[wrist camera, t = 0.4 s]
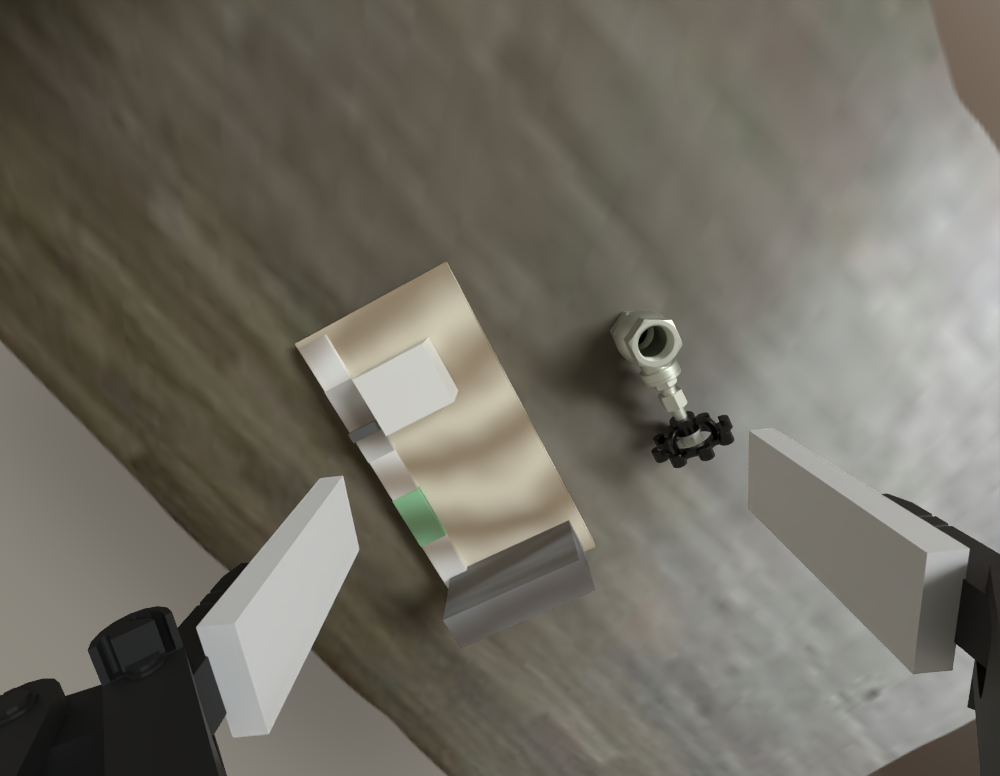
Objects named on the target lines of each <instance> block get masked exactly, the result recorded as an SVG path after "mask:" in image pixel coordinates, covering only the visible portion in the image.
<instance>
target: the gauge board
mask: <svg viewBox="0 0 1000 776" xmlns="http://www.w3.org/2000/svg"><path fill="white" fill-rule="evenodd" d="M428 337H429V338H430V340H431V342H432V344H433V346H434V347H435V349H436V351H437V353H438V355H439V356H440V358H441V360H442V362H443V364H444V365H445V367H446V369H447V371H448V373H449V374H450V376H451V378H452V380H453V382H454V383H455V385H456V387H457V389H458V393H457V396H456V398H455V401H454V402H453V403H451V404H449V405H447V406H445V407H443V408H441V409H439V410H437V411H435V412H433V413H431V414H429V415H427V416H425V417H423V418H421V419H419V420H417V421H415V422H413V423H411V424H409V425H407V426H405V427H403V428H401V429H399V430H397V431H395V432H393V433H391V434H389V435H387V436H386V435H385V433H384V432H383V430H382V429H381V430H379V431H377V432H375V433H373V434H371V435H369V436H367V437H365V438H363V439H361V440H359V441H357V442H356V444H357V445H358V447H359V449H360V450H361V452H362V453H363V455H364V457H365V458H366V460H367V461H368V463H370V465H371V467H372V468H373V470H374V471H375V473H376V475H377V476H378V478H379V479H380V481H381V483H382V484H383V486H384V487H385V489H386V491H387V492H388V494H389V495H390V497H391V499H392V500H393V501H392V502H393V503H394V505H395V507H396V508H397V510H398V511H399V513H400V515H401V516H402V518H403V519H404V521H405V523H406V524H407V526H408V527H409V529H410V530H411V532H412V534H413V535H414V537H415V538H416V540H417V542H418V543H419V545H420V546H421V547H422V548H423V550H424V551H425V553H426V555H427V556H428V558H429V559H430V561H431V563H432V564H433V566H434V567H435V569H436V571H437V572H438V574H439V575H440V577H441V579H442V580H443V582H444V583H445V585H446V587H447V588H448V593H447V599H446V605H445V611H444V616H443V621H444V623H445V625H446V626H447V628H448V629H449V631H450V632H451V634H452V635H453V637H454V639H455V640H456V642H457V643H458V645H459V646H460V648H463V647H465V646H467V645H470V644H472V643H474V642H477V641H479V640H481V639H484V638H486V637H488V636H490V635H493V634H495V633H497V632H500V631H502V630H504V629H507V628H509V627H511V626H513V625H516V624H518V623H520V622H523V621H525V620H527V619H530V618H532V617H534V616H537V615H539V614H541V613H543V612H546V611H548V610H550V609H553V608H555V607H557V606H560V605H562V604H564V603H566V602H569V601H571V600H573V599H576V598H578V597H580V596H583V595H585V594H587V593H590V592H592V591H594V590H595V587H594V583H593V580H592V576H591V573H590V569H589V565H588V562H587V558H586V555H585V551H587V550H589V549H592V548H594V547H596V546H595V543H594V540H593V538H592V536H591V534H590V532H589V530H588V529H587V527H586V525H585V523H584V521H583V519H582V517H581V515H580V513H579V511H578V510H577V508H576V506H575V504H574V502H573V500H572V498H571V496H570V494H569V493H568V491H567V489H566V487H565V485H564V483H563V481H562V479H561V477H560V475H559V474H558V472H557V470H556V468H555V466H554V464H553V462H552V460H551V458H550V457H549V455H548V453H547V451H546V449H545V447H544V445H543V443H542V441H541V440H540V438H539V436H538V434H537V432H536V430H535V428H534V426H533V424H532V422H531V421H530V419H529V417H528V415H527V413H526V411H525V409H524V407H523V405H522V404H521V402H520V400H519V398H518V396H517V394H516V392H515V390H514V388H513V386H512V385H511V383H510V381H509V379H508V377H507V375H506V373H505V371H504V369H503V368H502V366H501V364H500V362H499V360H498V358H497V356H496V354H495V352H494V350H493V349H492V347H491V345H490V343H489V341H488V339H487V337H486V335H485V333H484V332H483V330H482V328H481V326H480V324H479V322H478V320H477V318H476V316H475V314H474V313H473V311H472V309H471V307H470V305H469V303H468V301H467V299H466V297H465V296H464V294H463V292H462V290H461V288H460V286H459V284H458V282H457V280H456V278H455V277H454V275H453V273H452V271H451V269H450V267H449V265H448V263H447V262H445V263H443V264H441V265H439V266H437V267H435V268H434V269H432V270H430V271H428V272H426V273H424V274H423V275H421V276H419V277H417V278H415V279H413V280H412V281H410V282H408V283H406V284H404V285H402V286H401V287H399V288H397V289H395V290H393V291H391V292H390V293H388V294H386V295H384V296H382V297H380V298H379V299H377V300H375V301H373V302H371V303H369V304H368V305H366V306H364V307H362V308H360V309H358V310H357V311H355V312H353V313H351V314H349V315H347V316H346V317H344V318H342V319H340V320H338V321H336V322H335V323H333V324H331V325H329V326H327V327H325V328H324V329H322V330H320V331H318V332H316V333H314V334H313V335H311V336H309V337H307V338H305V339H303V340H301V341H300V342H298V343H296V344H295V345H296V347H297V348H298V350H299V351H300V353H301V355H302V356H303V358H304V359H305V361H306V363H307V364H308V366H309V367H310V369H311V371H312V372H313V374H314V375H315V377H316V379H317V380H318V382H319V383H320V385H321V387H322V388H323V390H324V391H325V392H324V393H325V394H326V396H327V397H328V399H329V401H330V402H331V404H332V405H333V407H334V409H335V410H336V412H337V413H338V415H339V417H340V418H341V420H342V421H343V423H344V425H345V426H346V428H347V429H348V431H349V433H350V432H352V431H354V430H356V429H358V428H360V427H362V426H364V425H366V424H368V423H369V422H371V421H373V420H375V417H374V415H373V414H372V412H371V410H370V409H369V407H368V406H367V404H366V402H365V401H364V399H363V397H362V396H361V394H360V392H359V391H358V389H357V387H356V386H355V384H354V382H353V381H352V380H353V379H354V378H356V377H357V376H358V375H360V374H361V373H362V372H364V371H365V370H367V369H369V368H371V367H373V366H375V365H376V364H378V363H380V362H382V361H384V360H386V359H388V358H390V357H392V356H394V355H395V354H397V353H399V352H401V351H403V350H405V349H407V348H409V347H411V346H413V345H414V344H416V343H418V342H420V341H422V340H424V339H426V338H428Z"/></svg>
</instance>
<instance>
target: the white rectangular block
mask: <svg viewBox="0 0 1000 776" xmlns="http://www.w3.org/2000/svg"><path fill="white" fill-rule="evenodd" d="M352 381H353V382H354V384H355V386H356V387H357V389H358V391H359V392H360V394H361V396H362V397H363V399H364V401H365V402H366V404H367V406H368V407H369V409H370V410H371V412H372V414H373V415H374V417H375V420H373V421H371V422H369V423H368V424H366V425H364V426H362V427H360V428H358V429H356V430H354V431H352V432H350V433H349V434H348V435H349V437H350V439H351V440H352V442H353V443H355V442H357V441H359V440H361V439H363V438H365V437H367V436H369V435H371V434H373V433H375V432H377V431H379V430H381V429H382V430H383V432H384V433H385V435H386V436H387V435H389V434H391V433H393V432H395V431H397V430H399V429H401V428H403V427H405V426H407V425H409V424H411V423H413V422H415V421H417V420H419V419H421V418H423V417H425V416H427V415H429V414H431V413H433V412H435V411H437V410H439V409H441V408H443V407H445V406H447V405H449V404H451V403H453V402H454V401H455V398H456V396H457V393H458V389H457V387H456V385H455V383H454V382H453V380H452V378H451V376H450V374H449V373H448V371H447V369H446V367H445V365H444V364H443V362H442V360H441V358H440V356H439V355H438V353H437V351H436V349H435V347H434V346H433V344H432V342H431V340H430V338H429V337H428V338H426V339H424V340H422V341H420V342H418V343H416V344H414V345H413V346H411V347H409V348H407V349H405V350H403V351H401V352H399V353H397V354H395V355H394V356H392V357H390V358H388V359H386V360H384V361H382V362H380V363H378V364H376V365H375V366H373V367H371V368H369V369H367V370H365V371H364V372H362V373H361V374H360V375H358V376H357V377H356V378H354V379H353V380H352Z"/></svg>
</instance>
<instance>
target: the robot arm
mask: <svg viewBox="0 0 1000 776" xmlns="http://www.w3.org/2000/svg"><path fill="white" fill-rule="evenodd" d="M748 509H749V510H750V511H751V512H752V513H753V514H754V515H755V516H756V517H757V518H758V519H759V520H760V521H761V522H762V523H763V524H764V525H765V526H766V527H767V528H768V529H769V530H770V531H771V532H772V533H773V534H774V535H775V536H776V537H777V538H778V539H779V540H780V541H781V542H782V543H783V544H784V545H785V546H786V547H787V548H788V549H789V550H790V551H791V552H792V553H793V554H794V555H795V556H796V557H797V558H798V559H799V560H800V561H801V562H802V563H803V564H804V565H805V566H806V567H807V568H808V569H809V570H810V571H811V572H812V573H813V574H814V575H815V576H816V577H817V578H818V579H819V580H820V581H821V582H822V583H823V584H824V585H825V586H826V587H827V588H828V589H829V590H830V591H831V592H832V593H833V594H834V595H835V596H836V597H837V598H838V599H839V600H840V601H841V602H842V603H843V604H844V605H845V606H846V607H847V608H848V609H849V610H850V611H851V612H852V613H853V614H854V615H855V616H856V617H857V618H858V619H859V620H860V621H861V622H862V623H863V624H864V625H865V626H866V627H867V628H868V629H869V630H870V631H871V632H872V633H873V634H874V635H875V636H876V637H877V638H878V639H879V640H880V641H881V642H882V643H883V644H884V645H885V646H886V647H887V648H888V649H889V650H890V651H891V652H892V653H893V654H894V655H895V656H896V657H897V658H898V659H899V660H900V661H901V662H902V663H903V664H904V665H905V666H906V667H907V668H908V670H909V671H910V672H911V673H912V674H918V673H928V672H939V671H950V670H952V669H953V662H954V655H955V648H956V644H957V645H958V646H959V647H961V648H962V649H963V650H964V651H965V652H967V653H968V654H969V655H970V656H971V657H973V658H974V659H975V662H974V669H973V675H972V681H971V688H970V694H969V700H968V708H971V709H974V710H975V713H976V725H977V738H978V749H979V762H980V775H981V776H1000V554H999V553H997V552H995V551H994V550H992V549H990V548H988V547H987V546H985V545H983V544H982V543H980V542H978V541H977V540H975V539H973V538H971V537H970V536H968V535H966V534H965V533H963V532H961V531H960V530H958V529H956V528H954V527H953V526H948V523H946V522H944V521H943V520H941V519H939V518H938V517H936V516H934V517H933V516H932V514H931V513H929V512H927V511H926V510H924V509H922V508H921V507H919V506H917V505H915V504H914V503H912V502H909V501H906V500H904V499H901V498H898V497H895V496H892V495H890V494H880V493H879V492H877V491H875V490H874V489H872V488H870V487H869V486H867V485H866V484H864V483H862V482H861V481H859V480H857V479H856V478H854V477H853V476H851V475H849V474H848V473H846V472H844V471H843V470H841V469H840V468H838V467H836V466H835V465H833V464H831V463H830V462H828V461H827V460H825V459H823V458H822V457H820V456H818V455H817V454H815V453H814V452H812V451H810V450H809V449H807V448H805V447H804V446H802V445H801V444H799V443H797V442H796V441H794V440H792V439H791V438H789V437H788V436H786V435H784V434H783V433H781V432H779V431H778V430H776V429H775V428H768V429H759V430H750V431H749V481H748ZM358 551H359V546H358V541H357V537H356V532H355V528H354V523H353V519H352V514H351V510H350V505H349V501H348V496H347V492H346V487H345V483H344V478H343V476H336V477H327V478H320V479H319V480H318V481H317V482H316V484H315V485H314V486H313V487H312V488H311V490H310V491H309V492H308V493H307V494H306V496H305V497H304V498H303V499H302V501H301V502H300V503H299V504H298V505H297V507H296V508H295V509H294V510H293V511H292V513H291V514H290V515H289V516H288V517H287V519H286V520H285V521H284V522H283V523H282V525H281V526H280V527H279V528H278V529H277V531H276V532H275V533H274V534H273V535H272V537H271V538H270V539H269V540H268V541H267V543H266V544H265V545H264V546H263V547H262V549H261V550H260V551H259V552H258V553H257V555H256V556H255V557H254V558H253V559H252V561H251V562H250V563H241V564H240V565H238V566H237V567H236V568H234V569H233V570H231V571H230V572H229V573H227V574H226V575H224V576H223V577H222V578H221V579H220V581H219V582H218V583H217V584H216V585H215V586H214V587H213V589H212V590H211V591H210V594H207V595H206V596H205V598H204V599H203V600H202V601H201V602H200V605H199V606H197V607H196V608H195V609H194V610H193V611H192V612H191V614H190V615H189V616H188V617H187V618H186V619H185V620H184V621H183V623H182V624H181V625H180V626H179V627H178V628H177V626H176V623H175V620H174V617H173V614H172V612H171V611H170V610H169V609H168V608H166V607H159V606H157V607H152V608H146V609H142V610H140V611H137V612H134V613H131V614H129V615H127V616H125V617H123V618H121V619H119V620H117V621H115V622H114V623H112V624H111V625H109V626H108V627H107V628H105V629H104V630H102V631H101V632H100V633H99V634H98V635H97V636H96V637H95V638H94V639H93V640H92V642H91V644H90V646H89V648H88V652H89V655H90V657H91V660H92V662H93V665H94V667H95V669H96V672H97V674H98V677H99V679H100V682H101V684H102V685H99V686H96V687H93V688H89V689H86V690H83V691H80V692H77V693H74V694H71V695H68V696H65V695H64V692H63V690H62V688H61V685H60V683H59V682H58V681H56V680H55V679H40V680H36V681H32V682H29V683H26V684H24V685H21V686H19V687H17V688H13V689H11V690H9V691H7V692H5V693H4V694H3V695H0V776H227V775H226V771H225V768H224V764H223V761H222V758H221V754H220V751H219V747H218V744H217V741H216V738H215V735H214V733H215V732H216V730H217V728H218V727H219V725H220V723H221V722H222V720H223V718H224V717H225V716H226V719H227V721H228V725H229V728H230V731H231V734H232V737H233V738H235V737H245V736H256V735H266V734H269V733H270V731H271V729H272V727H273V725H274V723H275V720H276V718H277V716H278V714H279V712H280V710H281V708H282V706H283V704H284V702H285V700H286V698H287V696H288V694H289V692H290V690H291V688H292V686H293V684H294V682H295V680H296V678H297V676H298V673H299V672H300V669H301V668H302V665H303V663H304V661H305V659H306V657H307V655H308V653H309V651H310V649H311V647H312V645H313V643H314V641H315V639H316V637H317V635H318V633H319V631H320V629H321V627H322V625H323V623H324V621H325V619H326V617H327V615H328V613H329V610H330V608H331V606H332V604H333V602H334V600H335V598H336V596H337V594H338V592H339V590H340V588H341V586H342V584H343V582H344V580H345V578H346V576H347V574H348V572H349V570H350V568H351V566H352V564H353V562H354V560H355V557H356V555H357V553H358Z"/></svg>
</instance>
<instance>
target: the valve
mask: <svg viewBox="0 0 1000 776" xmlns="http://www.w3.org/2000/svg"><path fill="white" fill-rule="evenodd" d="M646 329H647V330H648V332H647V336H646V338H645V340H644V341H643V342H642V343H641V344H639V345H638V341H639V338H640V336H641V334H642V333H643V332H644V331H645V330H646ZM610 333H611V335H612V337H613V339H614V342H615V344H616V347H617V349H618V351H619V353H620V354H621V355H622V356H623V357H624V358H625V359H627V360H628V361H630V362H632V363H635V364H638V365H639V366H640V368H641V370H642V371H641V372H640V374H639V376H640V378H641V380H642V382H643V384H644V386H646V387H654V388H655V389H656V390H657V391H660V392H661V393H660V394H659V395H658V397H659V399H660V401H661V403H662V405H663V407H664V409H665V410H666V411H667V412H672V414H673V417H672V418H671V419H670V421H669V422H670V425H671V427H672V430H671V431H670V433H669V435H668V437H667V438H665V437H664V435H663V433H661V434H658V435H656V436H655V437H654V438H653V440H654V442H655V444H656V446H657V447H655V448H653V449H652V451H651V452H652V454H653V456H654V458H655V460H656V462H658V463H662V462H665V461H667V460H668V459H670V461H671V463H672V465H673V467H674V468H681V467H683V466H685V465H686V464H687V459H689V458H691V457H695V456H699V458H700V460H702V461H708V460H711V459H712V458H714V456H715V453H714V451H713V449H712V448H713V447H714V446H716V445H719V444H720V445H723V446H725V445H729V444H731V443H733V442H734V437H733V435H732V433H731V429H732V427H733V426H732V424H731V421H730V419H729V417H728V416H727V415H721V416H719V417H718V419H719V421H720V422H718V423H715V422H714V421H713V420H712V419H711V417H710V415H709V413H701V414H699V415H697V416H696V417H695V415H694V413H693V412H691V411H685V409H684V406H685V405H686V404H687V400H686V398H685V396H684V394H683V392H682V390H681V389H680V388H679V387H678V386H675V385H674V384H675V383H676V382H677V379H676V377H677V376H678V375H679V374H680V372H681V369H680V367H679V365H678V362H677V360H676V359H675V358H674V357H675V356H676V354H677V353H678V351H679V349H680V348H681V346H682V341H681V338H680V336H679V334H678V331H677V329H676V327H675V325H674V323H673V322H672V320H670V319H666V318H664V317H663V316H662V315H661V314H659V313H657V312H655V311H652V310H647V309H642V310H636V311H633V312H629V311H623V312H622V313H621V314H620V316H619V317H618V319H617V320H616V322H615V323H614V325H613V326H612V328H611V329H610ZM700 431H708V432H711V435H710V436H709V437H708V438H707V439H706V440H705V441H703V442H702V443H701V441H702V440H703V439H704V438H703V436H702V434H701V432H700ZM678 440H680V441H681V443H682V445H683V446H684V447H690V448H685V449H679V447H678V445H677V443H676V442H677V441H678ZM699 443H700V444H699ZM657 448H658V449H660V451H659V450H658V449H657Z"/></svg>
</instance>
